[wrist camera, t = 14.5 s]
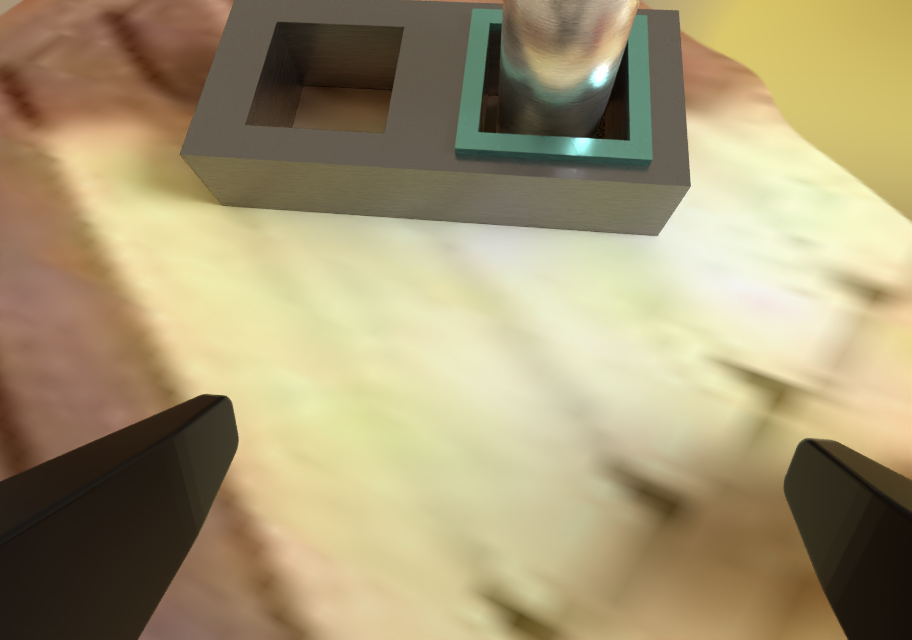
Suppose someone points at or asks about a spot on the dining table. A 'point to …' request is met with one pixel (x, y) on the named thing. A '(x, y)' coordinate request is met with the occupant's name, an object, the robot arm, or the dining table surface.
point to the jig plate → (431, 121)
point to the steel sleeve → (560, 64)
